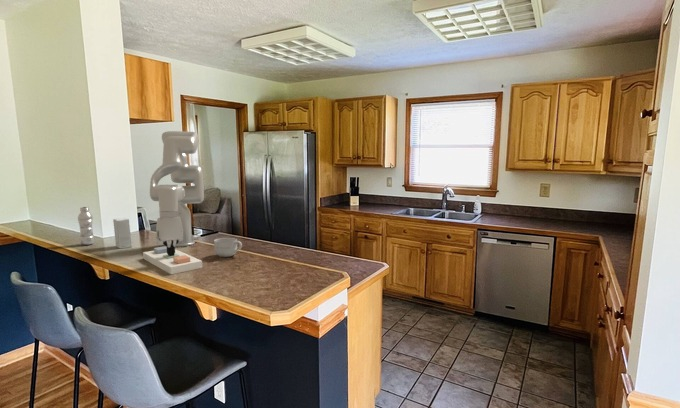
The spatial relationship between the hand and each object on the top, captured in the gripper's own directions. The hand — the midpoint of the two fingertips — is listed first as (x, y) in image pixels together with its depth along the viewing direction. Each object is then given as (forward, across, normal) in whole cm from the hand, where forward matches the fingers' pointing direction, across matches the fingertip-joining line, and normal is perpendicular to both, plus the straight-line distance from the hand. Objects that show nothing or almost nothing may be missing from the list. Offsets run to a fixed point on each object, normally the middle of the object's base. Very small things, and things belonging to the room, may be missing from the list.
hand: (171, 255), depth 160 cm
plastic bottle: (+4, +18, -65) cm, 68 cm away
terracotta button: (+1, 0, +11) cm, 11 cm away
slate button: (+1, 0, -11) cm, 11 cm away
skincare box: (+4, +6, -47) cm, 48 cm away
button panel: (+4, 0, 0) cm, 4 cm away
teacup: (+4, -24, +7) cm, 25 cm away
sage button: (+2, 0, 0) cm, 2 cm away
